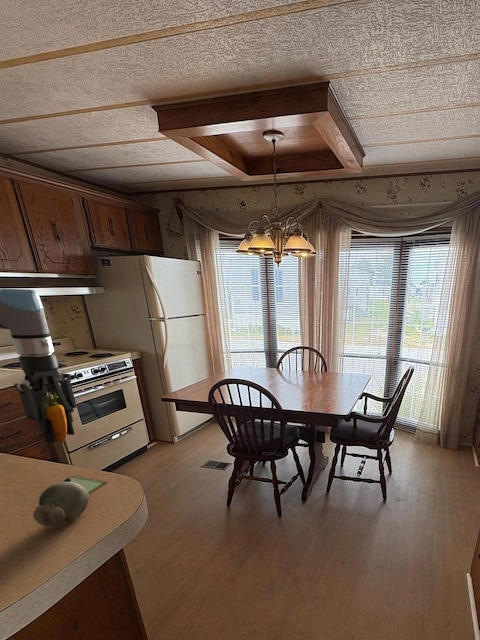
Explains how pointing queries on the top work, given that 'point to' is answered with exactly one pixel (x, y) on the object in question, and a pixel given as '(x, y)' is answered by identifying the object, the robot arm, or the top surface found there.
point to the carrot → (57, 418)
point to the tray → (87, 483)
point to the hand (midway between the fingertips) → (60, 437)
